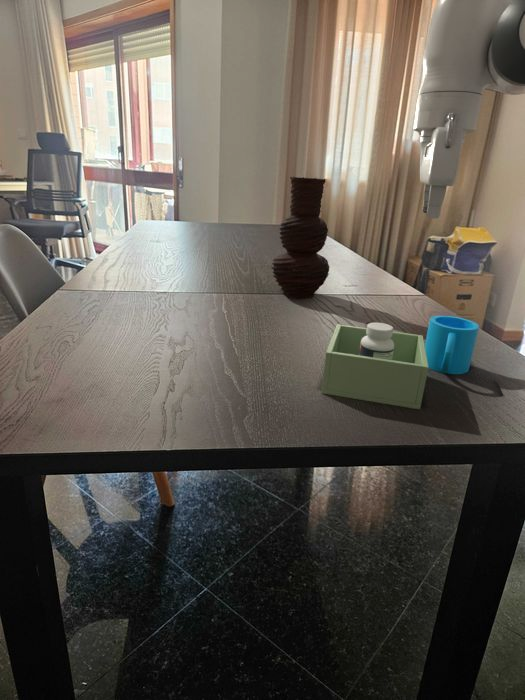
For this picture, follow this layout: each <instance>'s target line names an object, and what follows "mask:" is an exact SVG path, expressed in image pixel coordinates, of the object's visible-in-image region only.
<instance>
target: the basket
mask: <svg viewBox="0 0 525 700" xmlns="http://www.w3.org/2000/svg"><path fill="white" fill-rule="evenodd" d="M366 330H367V327H362V326H354V325H346V324H339V323H337V324H336V326H335V328H334V331H333V332H332V333H333V334H332V336H331V339H330V341H329V344H328V346H327V349H326V351H325V358H324V367H323V374H322V375H323V376H322V385H321V394H324V395H329V396H335V397H341V398H347V399H354V400H360V401H367V402H372V403H377V404H383V405H390V406H395V407H403V408H407V409H415V410H421V407H422V402H423V397H424V392H425V387H426V383H427V378H428V372H429V368H428V362H427V356H426V351H425V340H424V339H425V338H424V336H423V335H422V334H414V333H408V332H399V331H393V335H392V337H391V338H390V339H391V340H392V341H393V342H394V351H393V357H392V360H387V359H380V358H373V357H366V356H359V351H360V344H361V340H362V338H363V337H365V336H367V334H366Z"/></svg>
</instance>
